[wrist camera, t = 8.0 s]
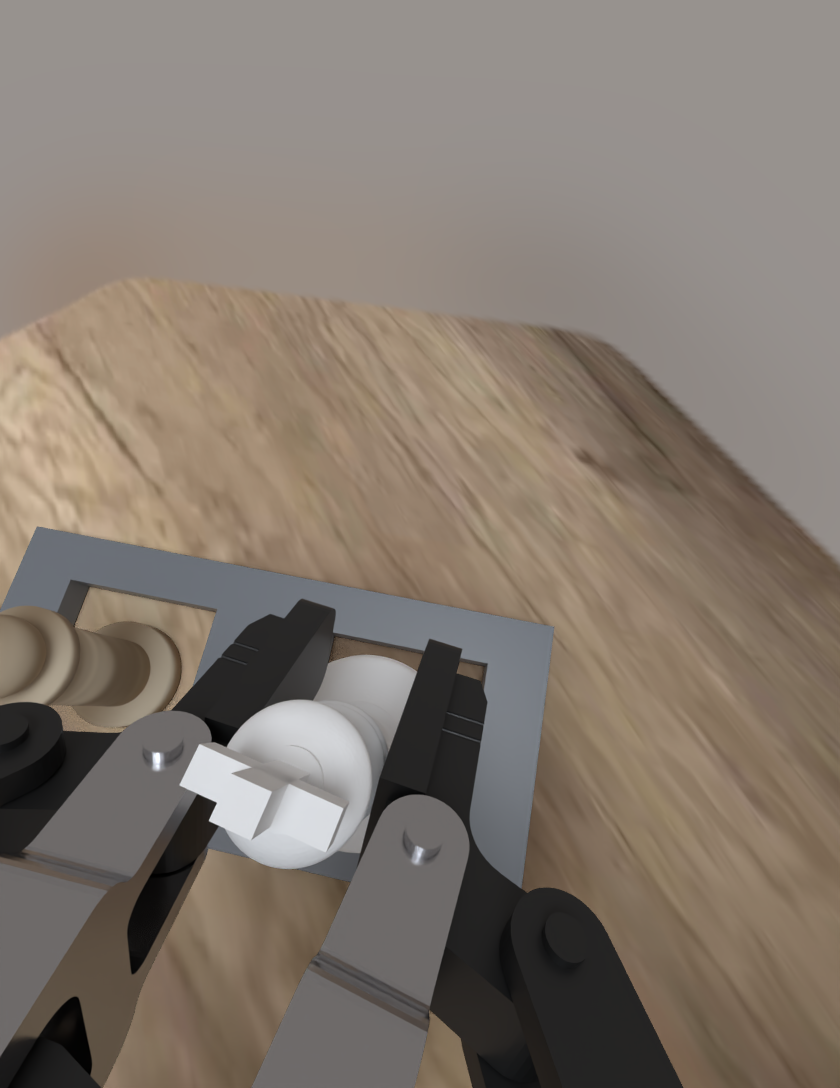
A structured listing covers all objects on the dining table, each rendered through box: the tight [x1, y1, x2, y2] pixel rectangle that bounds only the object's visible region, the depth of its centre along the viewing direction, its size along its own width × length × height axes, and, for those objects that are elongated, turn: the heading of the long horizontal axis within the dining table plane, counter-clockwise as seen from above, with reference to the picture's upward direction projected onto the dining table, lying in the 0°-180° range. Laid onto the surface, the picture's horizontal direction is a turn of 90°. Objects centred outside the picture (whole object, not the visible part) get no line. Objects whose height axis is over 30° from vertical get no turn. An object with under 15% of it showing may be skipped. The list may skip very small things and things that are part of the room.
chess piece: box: [180, 655, 417, 869], centre depth 10 cm, size 5×5×10 cm
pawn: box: [0, 606, 181, 727], centre depth 21 cm, size 5×5×10 cm
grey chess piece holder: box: [0, 527, 554, 888], centre depth 25 cm, size 26×12×2 cm, turn 79°
